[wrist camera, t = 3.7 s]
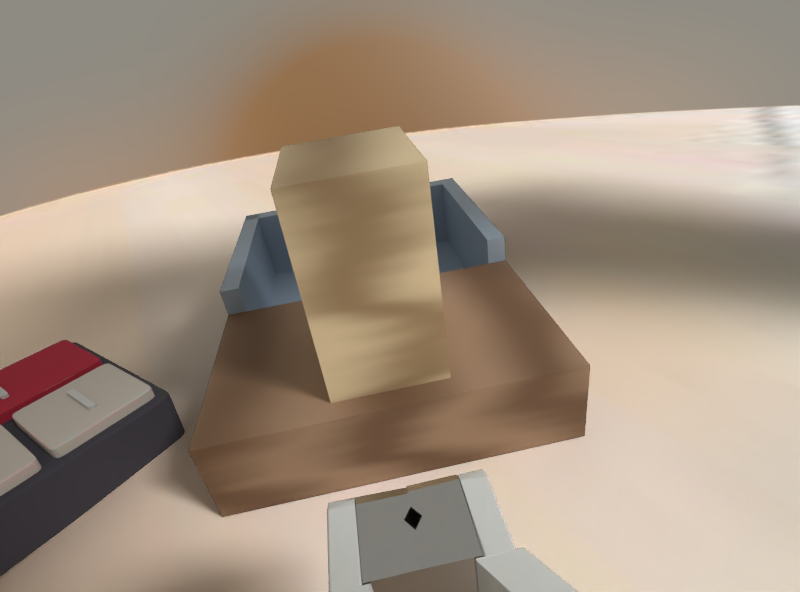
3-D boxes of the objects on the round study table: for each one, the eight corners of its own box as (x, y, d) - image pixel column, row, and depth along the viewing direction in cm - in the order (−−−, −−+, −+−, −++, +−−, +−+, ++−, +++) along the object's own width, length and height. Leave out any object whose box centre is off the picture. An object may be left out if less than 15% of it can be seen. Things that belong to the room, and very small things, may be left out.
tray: (457, 242, 40) (452, 178, 38) (506, 317, 30) (504, 236, 27) (266, 279, 39) (246, 216, 37) (249, 370, 29) (219, 291, 26)
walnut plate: (506, 317, 30) (505, 260, 28) (584, 435, 21) (590, 365, 19) (249, 370, 29) (228, 314, 27) (222, 516, 20) (188, 451, 18)
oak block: (422, 304, 25) (398, 126, 21) (450, 377, 20) (427, 160, 15) (327, 324, 25) (281, 146, 20) (331, 403, 20) (270, 188, 15)
